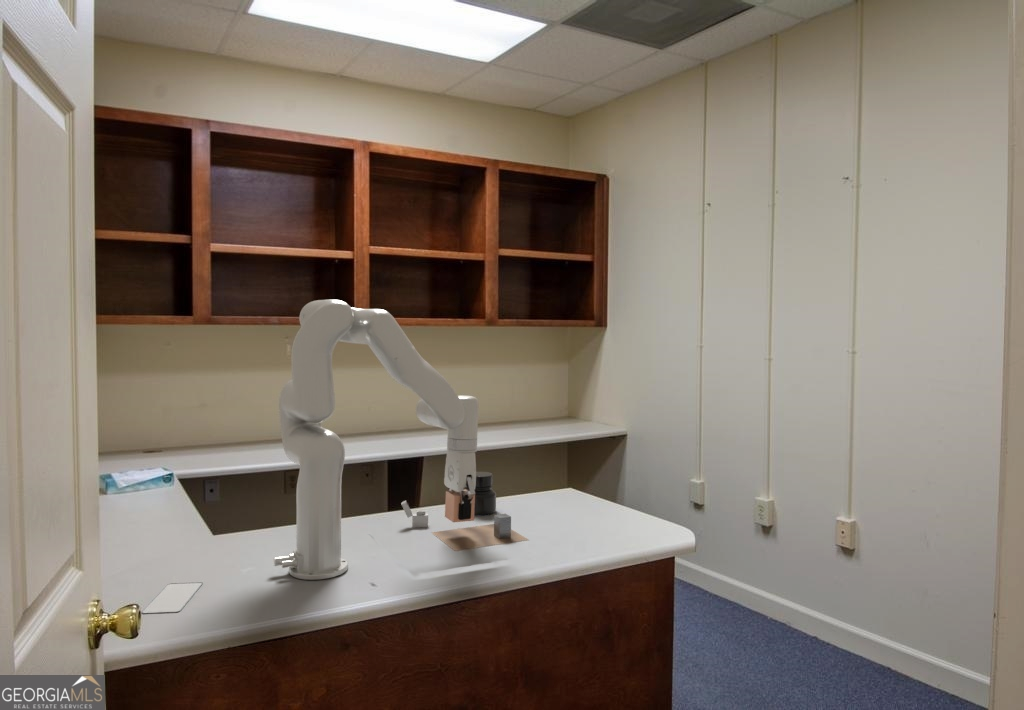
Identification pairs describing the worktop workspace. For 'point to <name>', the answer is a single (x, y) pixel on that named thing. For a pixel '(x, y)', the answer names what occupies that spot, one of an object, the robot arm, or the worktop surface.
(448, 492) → the salmon orange block
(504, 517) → the post
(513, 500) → the worktop surface
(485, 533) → the base board
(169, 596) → the smartphone
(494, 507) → the ink bottle
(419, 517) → the lighter
